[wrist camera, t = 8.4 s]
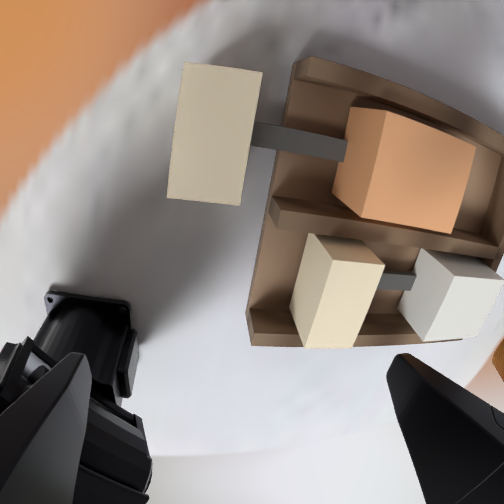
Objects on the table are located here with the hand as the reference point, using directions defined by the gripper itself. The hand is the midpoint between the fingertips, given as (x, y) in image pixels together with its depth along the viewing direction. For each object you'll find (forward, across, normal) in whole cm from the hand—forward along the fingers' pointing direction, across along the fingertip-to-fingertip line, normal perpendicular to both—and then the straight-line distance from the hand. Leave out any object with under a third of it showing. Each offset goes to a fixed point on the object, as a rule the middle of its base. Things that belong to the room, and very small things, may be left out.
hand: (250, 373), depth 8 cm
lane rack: (+12, -11, -1) cm, 16 cm away
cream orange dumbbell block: (+11, -5, -5) cm, 13 cm away
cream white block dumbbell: (+11, -12, +3) cm, 16 cm away
